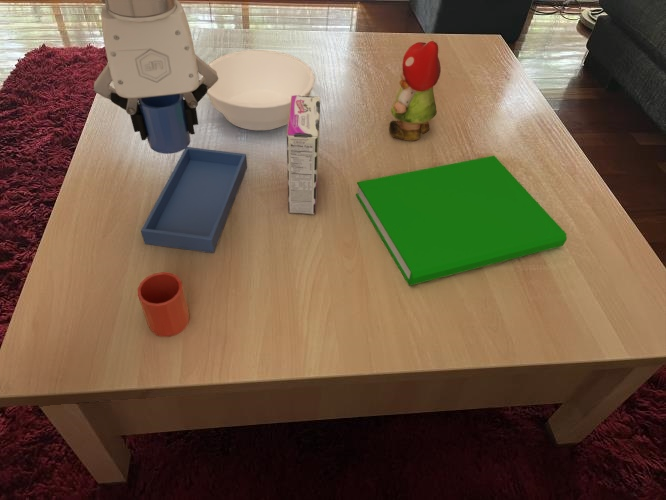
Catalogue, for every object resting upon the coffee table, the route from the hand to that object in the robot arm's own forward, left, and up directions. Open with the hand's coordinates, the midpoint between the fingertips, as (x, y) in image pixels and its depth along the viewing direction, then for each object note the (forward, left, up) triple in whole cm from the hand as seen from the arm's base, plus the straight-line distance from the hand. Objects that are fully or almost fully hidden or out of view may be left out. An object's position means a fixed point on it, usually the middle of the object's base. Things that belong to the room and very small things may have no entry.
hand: (167, 130), depth 72 cm
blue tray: (+7, 0, -19) cm, 20 cm away
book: (+10, -44, -19) cm, 49 cm away
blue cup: (0, 0, -2) cm, 2 cm away
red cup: (-18, -3, -19) cm, 26 cm away
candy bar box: (+12, -17, -19) cm, 28 cm away
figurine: (+36, -35, -19) cm, 54 cm away
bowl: (+36, -4, -19) cm, 41 cm away
